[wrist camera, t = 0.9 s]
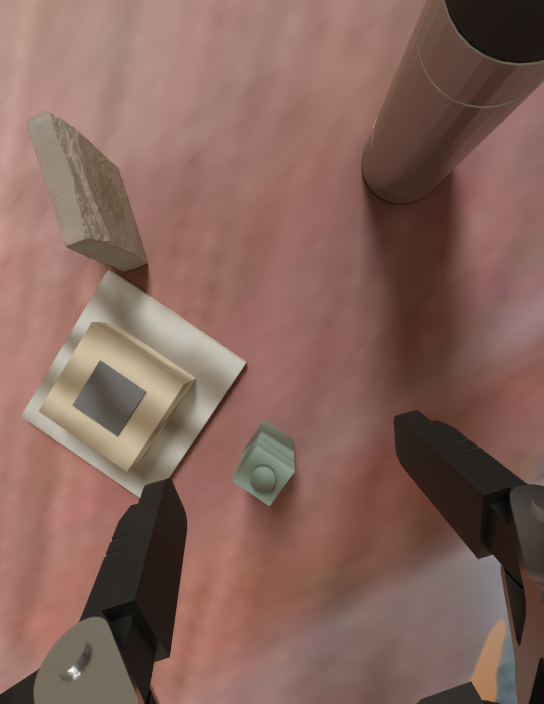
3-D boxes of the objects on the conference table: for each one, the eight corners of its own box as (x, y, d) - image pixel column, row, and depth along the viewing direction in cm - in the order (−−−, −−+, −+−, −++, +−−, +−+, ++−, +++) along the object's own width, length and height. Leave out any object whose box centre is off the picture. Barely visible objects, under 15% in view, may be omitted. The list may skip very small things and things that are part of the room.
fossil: (92, 177, 35) (17, 119, 25) (118, 167, 34) (54, 105, 25) (123, 273, 35) (63, 252, 26) (150, 264, 35) (98, 240, 26)
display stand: (113, 271, 35) (83, 260, 30) (247, 362, 35) (239, 367, 30) (28, 414, 37) (-14, 427, 32) (154, 500, 37) (132, 528, 32)
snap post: (264, 419, 36) (256, 449, 27) (293, 439, 36) (294, 475, 27) (244, 447, 36) (230, 485, 27) (273, 467, 36) (268, 511, 27)
